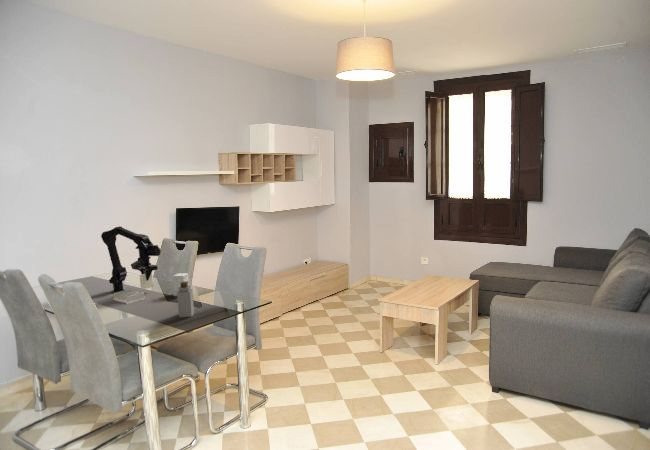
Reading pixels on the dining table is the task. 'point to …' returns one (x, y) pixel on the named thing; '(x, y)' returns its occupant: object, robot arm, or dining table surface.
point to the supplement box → (179, 281)
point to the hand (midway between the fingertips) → (146, 280)
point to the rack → (128, 296)
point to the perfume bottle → (185, 300)
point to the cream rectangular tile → (146, 281)
